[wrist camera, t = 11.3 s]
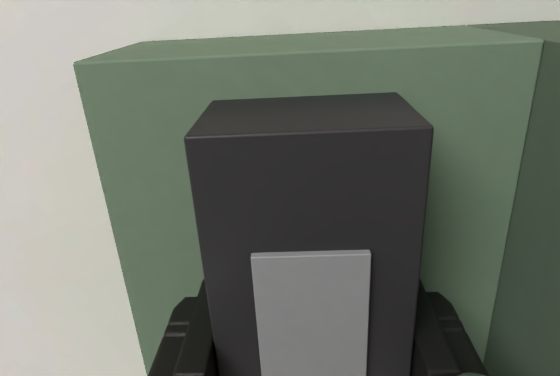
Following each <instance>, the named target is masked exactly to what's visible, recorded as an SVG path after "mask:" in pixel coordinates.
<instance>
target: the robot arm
mask: <svg viewBox="0 0 560 376" xmlns="http://www.w3.org/2000/svg"><path fill="white" fill-rule="evenodd" d="M148 376H219V374H218V368H217V361H216V354H215V347H214V341H213V334H212V327H211V320H210V314H209V307H208V300H207V293H206V287H205V280H204V279H203V281H202V283H201V286H200V290H199V293H198V296H197V297H185V298H184V299H183V300H182V301H181V302H180V303H179V304H178V305H177V306H176V307H175V308H174V309H173V311H172V314H171V316H170V319H169V322H168V326H167V327H166V330H165V332H164V337H162V340H161V343H160V345H159V348H158V350H157V353H156V356H155V358H154V361H153V363H152V366H151V369H150V371H149V374H148ZM410 376H489V375H488V373H487V371H486V369H485V367H484V365H483V363H482V361H481V359H480V357H479V355H478V353H477V352H476V350H475V348H474V346H473V344H472V342H471V340H470V338H469V336H468V334H467V332H465V328H464V326H463V324H462V322H461V321H460V320H459V317H458V315H457V313H456V311H455V309H454V307H453V305H452V303H451V302H449V301H448V300H447V299H446V298H445V297H444V296H443V295H441V294H440V293H439V292H426V291H425V289H424V287H423V284H422V282H421V280H420V279H419V289H418V299H417V310H416V320H415V330H414V341H413V351H412V362H411V372H410Z"/></svg>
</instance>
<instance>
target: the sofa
mask: <svg viewBox="0 0 560 376" xmlns="http://www.w3.org/2000/svg"><path fill="white" fill-rule="evenodd" d="M73 66H74V70H75V74H76V79H77V83H78V87H79V91H80V95H81V100H82V104H83V108H84V112H85V116H86V121H87V125H88V129H89V133H90V138H91V142H92V146H93V150H94V154H95V159H96V163H97V167H98V171H99V175H100V180H101V184H102V188H103V192H104V196H105V201H106V205H107V209H108V213H109V217H110V222H111V226H112V230H113V234H114V238H115V243H116V247H117V251H118V255H119V259H120V264H121V268H122V272H123V276H124V280H125V285H126V289H127V293H128V297H129V301H130V306H131V310H132V314H133V318H134V322H135V327H136V331H137V335H138V339H139V343H140V348H141V352H142V356H143V360H144V364H145V369H146V373H147V376H148V374H149V371H150V369H151V366H152V363H153V361H154V358H155V356H156V353H157V350H158V348H159V345H160V343H161V340H162V337H164V332H165V330H166V327H167V326H168V322H169V319H170V316H171V314H172V311H173V309H174V308H175V307H176V306H177V305H178V304H179V303H180V302H181V301H182V300H183V299H184V298H185V297H197V296H198V293H199V290H200V286H201V283H202V281H203V279H204V273H203V266H202V260H201V253H200V246H199V239H198V233H197V226H196V219H195V212H194V206H193V199H192V192H191V185H190V179H189V172H188V165H187V158H186V152H185V145H184V136H185V135H186V134H187V132H188V131H189V130H190V128H191V127H192V126H193V125H194V123H195V122H196V121H197V119H198V118H199V117H200V116H201V114H202V113H203V112H204V110H205V109H206V108H207V107H208V105H209V104H210V103H211V101H213V100H232V99H254V98H276V97H299V96H321V95H343V94H365V93H387V92H397V93H398V94H399V95H400V96H401V97H403V98H404V99H405V100H406V101H407V102H408V103H409V104H410V105H411V106H412V107H413V108H414V109H415V110H416V111H417V112H419V113H420V114H421V115H422V116H423V117H424V118H425V119H426V120H427V121H428V122H429V123H430V124H431V125H432V126H433V127H434V133H433V143H432V154H431V164H430V175H429V185H428V195H427V206H426V216H425V227H424V237H423V247H422V258H421V268H420V280H421V282H422V284H423V287H424V289H425V291H426V292H439V293H440V294H441V295H443V296H444V297H445V298H446V299H447V300H448V301H449V302H451V303H452V305H453V307H454V309H455V311H456V313H457V315H458V317H459V320H460V321H461V322H462V324H463V326H464V328H465V332H467V334H468V336H469V338H470V340H471V342H472V344H473V346H474V348H475V350H476V352H477V353H478V355H479V357H480V359H481V361H482V363H483V365H484V367H485V369H486V371H487V373H488V375H489V376H560V21H539V22H520V23H500V24H480V25H467V26H465V25H462V26H442V27H423V28H403V29H383V30H364V31H344V32H324V33H305V34H285V35H265V36H246V37H226V38H207V39H187V40H167V41H148V42H139V43H136V44H132V45H129V46H126V47H123V48H119V49H116V50H113V51H109V52H106V53H103V54H99V55H96V56H93V57H90V58H86V59H83V60H80V61H76V62H74V64H73Z"/></svg>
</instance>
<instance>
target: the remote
mask: <svg viewBox="0 0 560 376" xmlns="http://www.w3.org/2000/svg"><path fill="white" fill-rule="evenodd" d="M433 133H434V127H433V126H432V125H431V124H430V123H429V122H428V121H427V120H426V119H425V118H424V117H423V116H422V115H421V114H420V113H419V112H417V111H416V110H415V109H414V108H413V107H412V106H411V105H410V104H409V103H408V102H407V101H406V100H405V99H404V98H403V97H401V96H400V95H399V94H398V93H397V92H387V93H365V94H343V95H321V96H299V97H276V98H254V99H232V100H213V101H211V103H210V104H209V105H208V107H207V108H206V109H205V110H204V112H203V113H202V114H201V116H200V117H199V118H198V119H197V121H196V122H195V123H194V125H193V126H192V127H191V128H190V130H189V131H188V132H187V134H186V135H185V136H184V145H185V152H186V158H187V165H188V172H189V179H190V185H191V192H192V199H193V206H194V212H195V219H196V226H197V233H198V239H199V246H200V253H201V260H202V266H203V273H204V280H205V287H206V293H207V300H208V307H209V314H210V320H211V327H212V334H213V341H214V347H215V354H216V361H217V368H218V374H219V376H410V372H411V362H412V351H413V341H414V330H415V320H416V310H417V299H418V289H419V279H420V268H421V258H422V247H423V237H424V227H425V216H426V206H427V195H428V185H429V175H430V164H431V154H432V143H433Z"/></svg>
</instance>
